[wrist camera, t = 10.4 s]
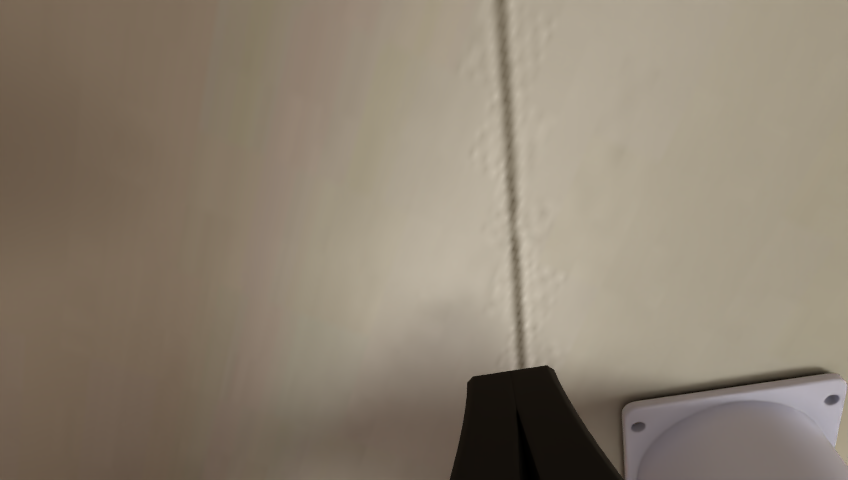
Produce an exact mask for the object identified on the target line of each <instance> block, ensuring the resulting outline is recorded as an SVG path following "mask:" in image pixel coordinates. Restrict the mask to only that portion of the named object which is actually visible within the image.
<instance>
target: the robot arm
mask: <svg viewBox="0 0 848 480" xmlns="http://www.w3.org/2000/svg"><path fill="white" fill-rule="evenodd" d="M846 391H847V383H846V382H845V380H844V379H843V378H842V377H841V376H840V375H839V374H836V373H827V374H820V375H813V376H807V377H800V378H793V379H786V380H779V381H772V382H765V383H758V384H751V385H744V386H737V387H731V388H724V389H717V390H710V391H703V392H696V393H689V394H682V395H675V396H668V397H661V398H655V399H648V400H641V401H634V402H631V403H629V404H627V405H626V406H625V407H624V408H623V410H622V427H623V447H624V467H625V480H848V466H847V465H846V463H845V462H844V461H843V459H842V458H841V457H840V455H839V454H838V453H837V451H836V450H835V444H836V440H837V435H838V430H839V425H840V420H841V415H842V410H843V406H844V401H845V396H846ZM637 422H639V423H637ZM634 423H637V424H634ZM450 480H624V479H623V478H622V477H621V475H620V474H619V473H618V471H617V470H616V468H615V467H614V466H613V464H612V463H611V462H610V460H609V459H608V458H607V456H606V455H605V453H604V452H603V451H602V449H601V448H600V447H599V445H598V444H597V442H596V441H595V439H594V438H593V437H592V435H591V434H590V432H589V431H588V429H587V428H586V426H585V424H584V423H583V421H582V420H581V418H580V417H579V415H578V414H577V412H576V410H575V409H574V407H573V405H572V404H571V402H570V400H569V399H568V397H567V395H566V393H565V391H564V390H563V388H562V386H561V384H560V382H559V380H558V378H557V375H556V373H555V371H554V370H553V369H552V368H550V367H549V366H547V365H546V366H539V367H533V368H526V369H520V370H513V371H507V372H500V373H494V374H487V375H481V376H474V377H472V378H471V379H470V380H469V382H468V383H467V398H466V407H465V414H464V420H463V425H462V430H461V435H460V440H459V445H458V449H457V453H456V457H455V461H454V465H453V469H452V472H451V476H450Z"/></svg>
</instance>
